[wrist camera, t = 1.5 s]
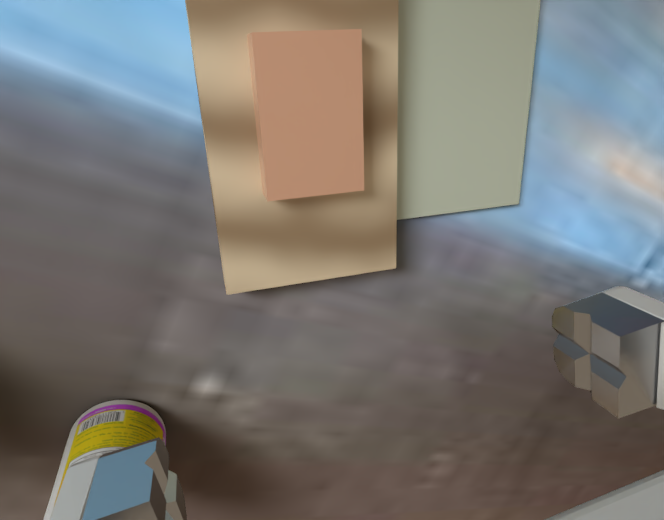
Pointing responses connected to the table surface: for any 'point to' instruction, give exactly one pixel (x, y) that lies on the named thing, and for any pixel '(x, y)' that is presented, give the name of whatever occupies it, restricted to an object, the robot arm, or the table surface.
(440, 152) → the mat
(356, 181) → the tile
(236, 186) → the beige flat block
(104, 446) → the supplement bottle
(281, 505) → the table surface
